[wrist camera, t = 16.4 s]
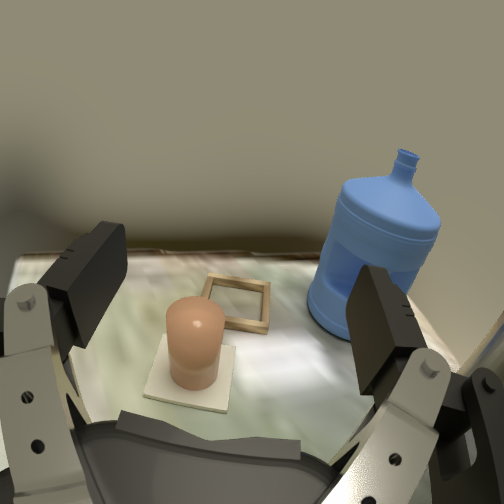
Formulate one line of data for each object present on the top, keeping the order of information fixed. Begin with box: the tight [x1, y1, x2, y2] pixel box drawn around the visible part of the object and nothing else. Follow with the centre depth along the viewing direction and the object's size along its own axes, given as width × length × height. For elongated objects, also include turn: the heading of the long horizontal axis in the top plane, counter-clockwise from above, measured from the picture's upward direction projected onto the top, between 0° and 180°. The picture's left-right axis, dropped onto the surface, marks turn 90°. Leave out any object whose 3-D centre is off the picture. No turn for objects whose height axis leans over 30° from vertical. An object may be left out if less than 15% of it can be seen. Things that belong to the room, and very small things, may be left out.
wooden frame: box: [202, 273, 270, 335], centre depth 49 cm, size 10×10×2 cm
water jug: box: [307, 149, 441, 340], centre depth 44 cm, size 16×16×28 cm
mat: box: [143, 334, 236, 413], centre depth 37 cm, size 10×10×1 cm
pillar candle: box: [166, 296, 225, 391], centre depth 35 cm, size 6×8×10 cm
